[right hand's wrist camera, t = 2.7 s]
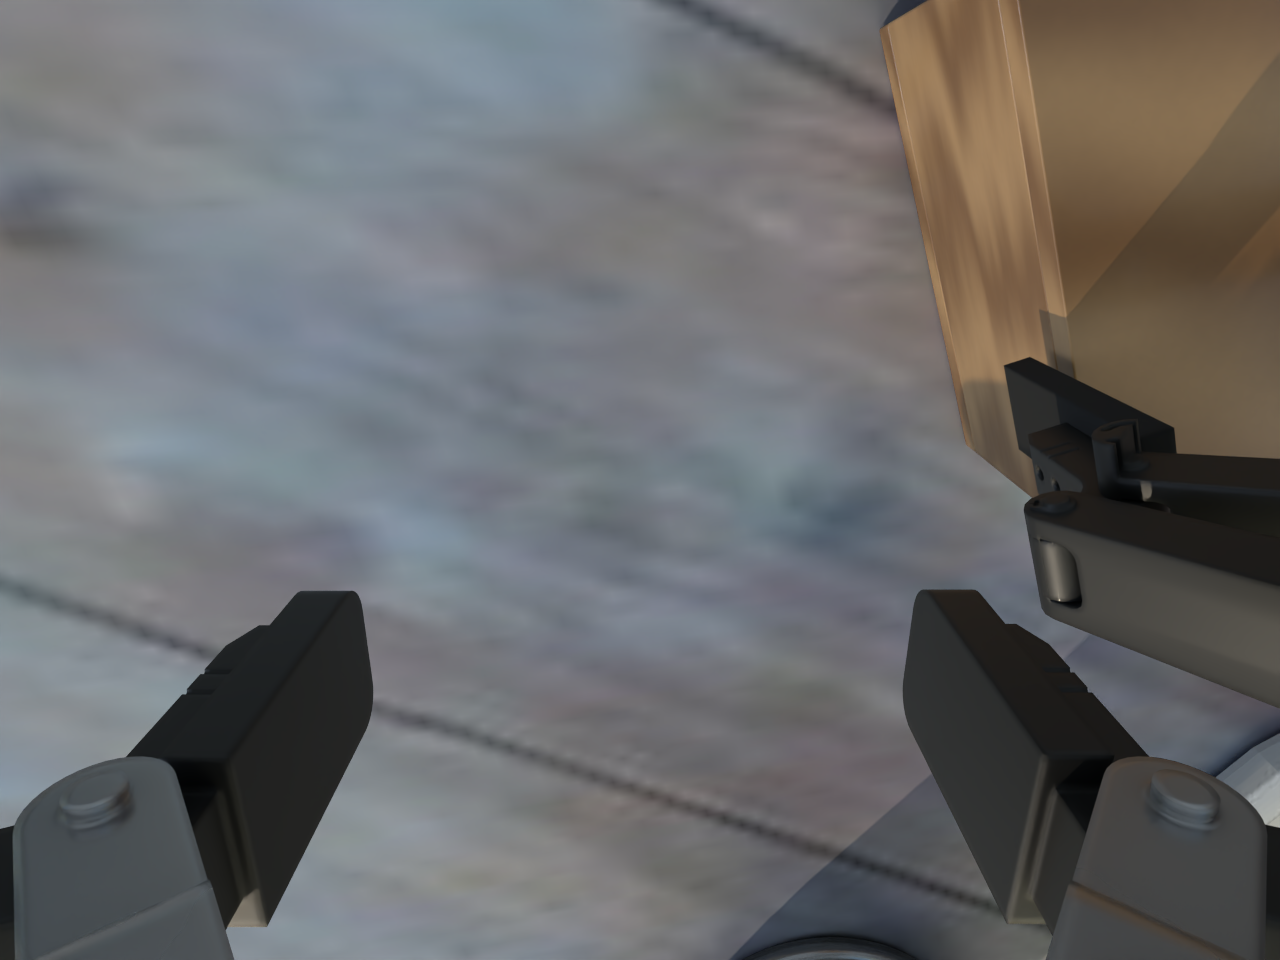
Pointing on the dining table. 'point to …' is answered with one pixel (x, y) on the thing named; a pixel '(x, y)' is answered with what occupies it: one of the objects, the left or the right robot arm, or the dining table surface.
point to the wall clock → (1258, 779)
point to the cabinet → (1101, 206)
